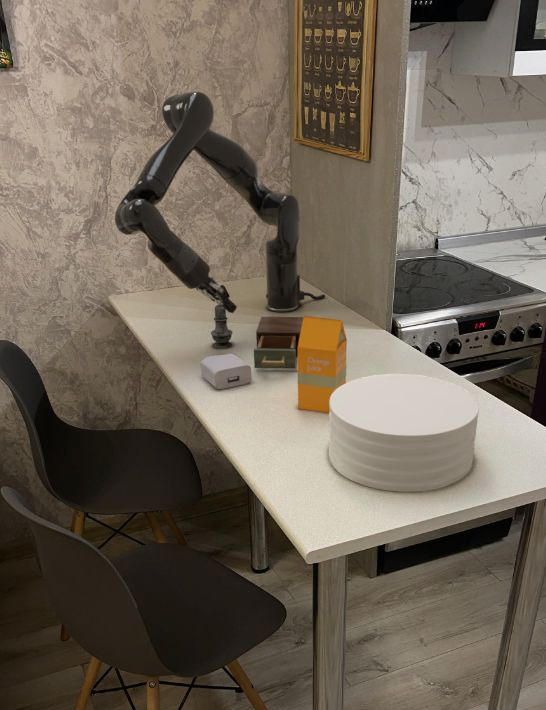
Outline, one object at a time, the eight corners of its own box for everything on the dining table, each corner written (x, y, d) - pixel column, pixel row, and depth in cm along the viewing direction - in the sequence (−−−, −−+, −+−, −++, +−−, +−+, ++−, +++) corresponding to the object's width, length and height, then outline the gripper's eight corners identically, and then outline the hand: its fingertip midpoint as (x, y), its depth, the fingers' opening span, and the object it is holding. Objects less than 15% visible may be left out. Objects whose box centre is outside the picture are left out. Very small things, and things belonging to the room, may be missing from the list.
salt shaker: (232, 349, 200) (229, 304, 194) (210, 349, 201) (207, 305, 194) (234, 341, 205) (231, 298, 199) (212, 341, 206) (209, 298, 200)
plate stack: (405, 509, 131) (410, 451, 126) (299, 453, 150) (299, 400, 144) (501, 457, 147) (509, 403, 141) (395, 412, 165) (398, 363, 160)
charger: (226, 362, 192) (251, 382, 181) (192, 369, 188) (216, 390, 177) (225, 345, 190) (250, 364, 178) (191, 351, 186) (214, 371, 174)
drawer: (294, 376, 182) (293, 357, 179) (252, 375, 182) (251, 357, 180) (298, 352, 196) (298, 334, 193) (259, 351, 196) (258, 334, 194)
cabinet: (300, 356, 195) (300, 332, 192) (257, 355, 196) (256, 331, 193) (303, 339, 206) (303, 316, 203) (262, 339, 207) (261, 316, 204)
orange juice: (335, 414, 165) (336, 325, 155) (297, 408, 168) (296, 321, 158) (345, 399, 171) (347, 314, 161) (309, 394, 174) (308, 310, 164)
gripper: (207, 254, 178) (254, 301, 188) (183, 250, 188) (229, 295, 199) (188, 279, 177) (237, 325, 188) (165, 274, 187) (213, 318, 198)
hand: (233, 310), depth 193 cm, fingers closed
